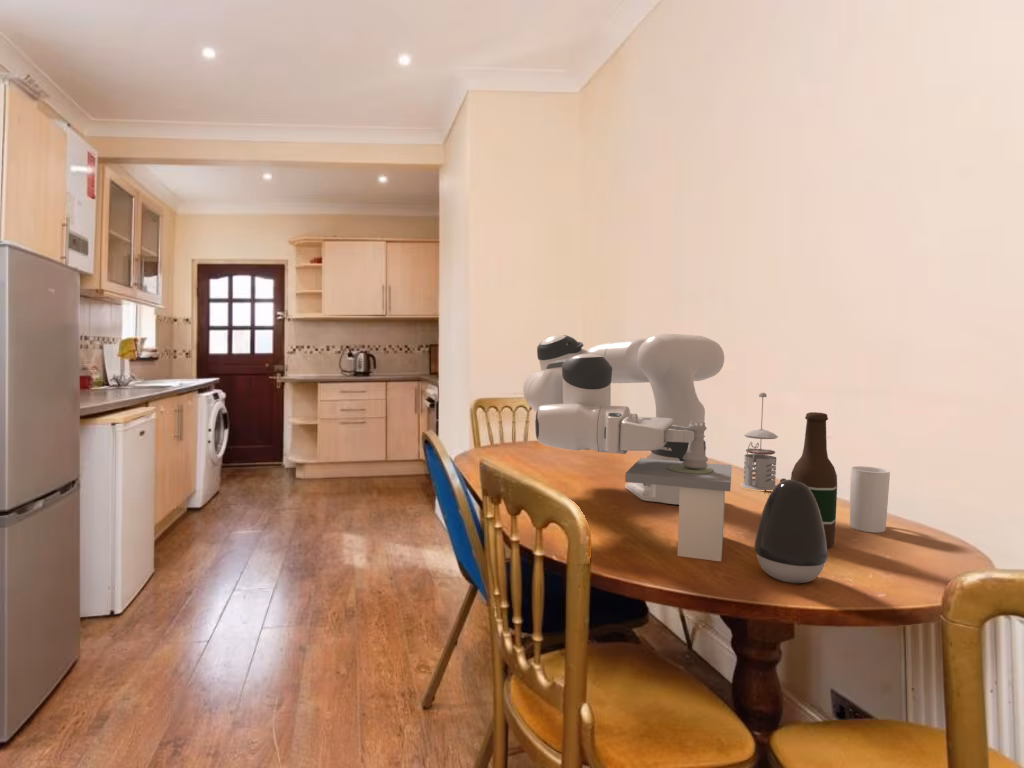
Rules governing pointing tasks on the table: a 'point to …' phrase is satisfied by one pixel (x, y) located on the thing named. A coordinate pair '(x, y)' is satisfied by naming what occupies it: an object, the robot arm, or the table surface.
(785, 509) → the dark grey egg speaker
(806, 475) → the beer bottle
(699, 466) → the rook chess piece
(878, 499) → the mug
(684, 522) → the grey pedestal stand
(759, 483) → the french press
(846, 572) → the table surface
